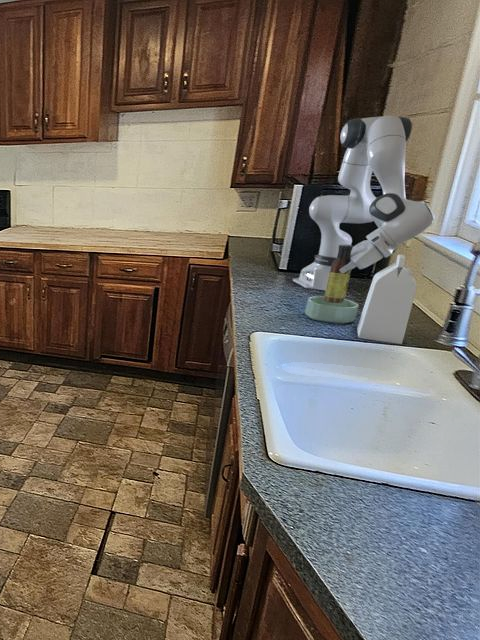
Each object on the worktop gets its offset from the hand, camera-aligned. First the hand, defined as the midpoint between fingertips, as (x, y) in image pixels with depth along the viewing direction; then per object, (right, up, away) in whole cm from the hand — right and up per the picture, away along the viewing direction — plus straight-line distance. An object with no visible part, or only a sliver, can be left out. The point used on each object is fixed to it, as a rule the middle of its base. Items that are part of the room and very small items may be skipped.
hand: (338, 269), depth 184 cm
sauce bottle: (+1, -11, +4) cm, 12 cm away
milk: (+5, -24, -12) cm, 27 cm away
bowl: (0, -16, +6) cm, 18 cm away
